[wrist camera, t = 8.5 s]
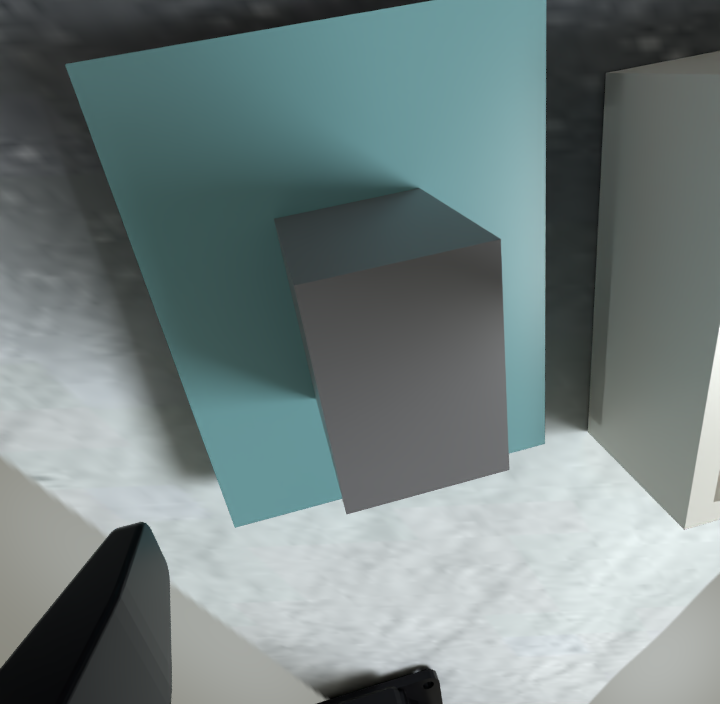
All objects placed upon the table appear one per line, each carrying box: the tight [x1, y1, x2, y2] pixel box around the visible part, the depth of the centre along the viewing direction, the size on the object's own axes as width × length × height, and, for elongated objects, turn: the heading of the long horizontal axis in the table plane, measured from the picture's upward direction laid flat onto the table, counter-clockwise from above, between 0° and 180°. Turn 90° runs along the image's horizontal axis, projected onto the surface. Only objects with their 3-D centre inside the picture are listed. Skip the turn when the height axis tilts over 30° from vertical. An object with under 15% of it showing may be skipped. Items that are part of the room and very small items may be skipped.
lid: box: [65, 0, 546, 528], centre depth 13 cm, size 12×10×6 cm
